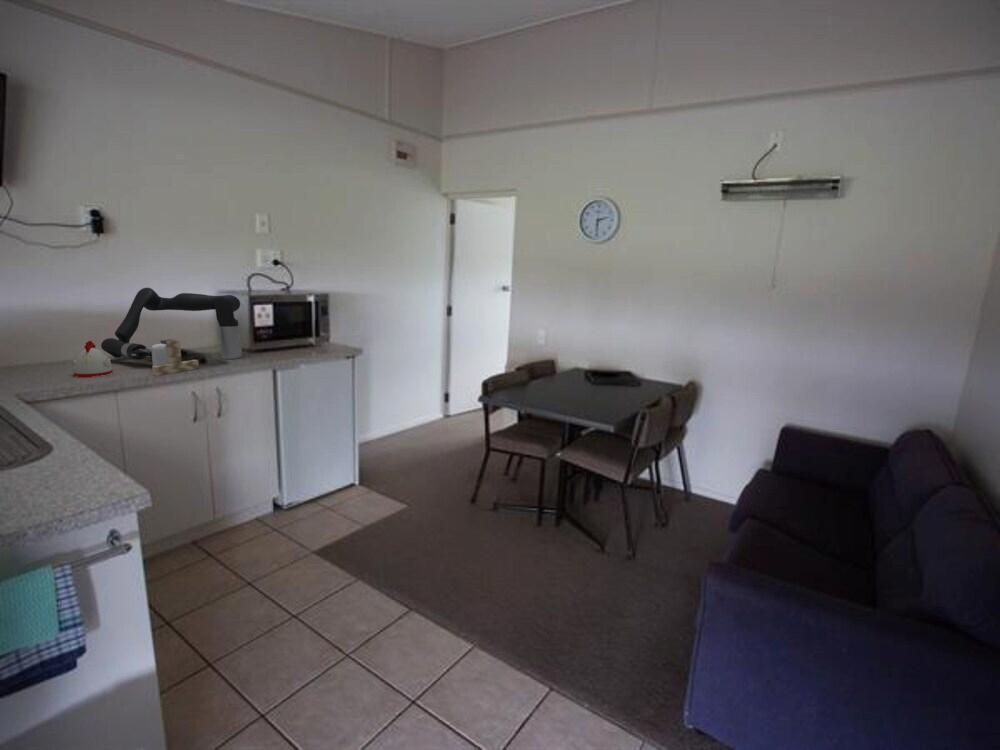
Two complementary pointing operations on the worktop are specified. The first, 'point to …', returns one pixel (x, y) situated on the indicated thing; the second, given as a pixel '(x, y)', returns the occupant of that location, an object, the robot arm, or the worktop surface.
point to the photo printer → (159, 354)
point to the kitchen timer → (91, 362)
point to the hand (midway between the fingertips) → (157, 354)
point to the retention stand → (174, 360)
